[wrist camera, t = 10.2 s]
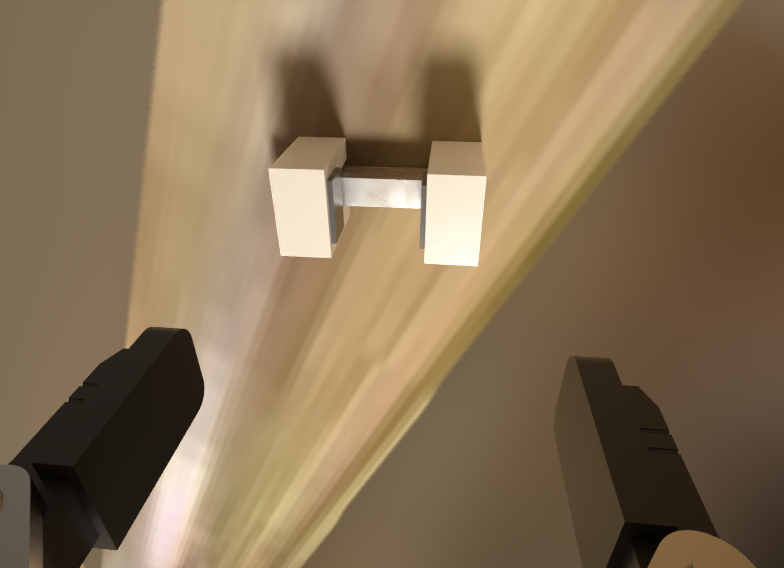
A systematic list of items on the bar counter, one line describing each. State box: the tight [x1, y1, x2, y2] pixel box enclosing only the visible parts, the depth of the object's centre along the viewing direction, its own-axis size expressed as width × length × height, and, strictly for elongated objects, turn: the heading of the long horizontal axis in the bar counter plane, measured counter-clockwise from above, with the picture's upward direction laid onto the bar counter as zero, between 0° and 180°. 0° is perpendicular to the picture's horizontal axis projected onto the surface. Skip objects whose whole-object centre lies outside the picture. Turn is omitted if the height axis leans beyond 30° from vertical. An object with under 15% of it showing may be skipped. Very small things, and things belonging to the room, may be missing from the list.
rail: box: [341, 165, 428, 209], centre depth 42 cm, size 2×17×3 cm, turn 90°
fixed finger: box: [420, 141, 486, 266], centre depth 39 cm, size 7×4×8 cm, turn 0°
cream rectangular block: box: [268, 137, 350, 258], centre depth 40 cm, size 7×4×8 cm, turn 0°
